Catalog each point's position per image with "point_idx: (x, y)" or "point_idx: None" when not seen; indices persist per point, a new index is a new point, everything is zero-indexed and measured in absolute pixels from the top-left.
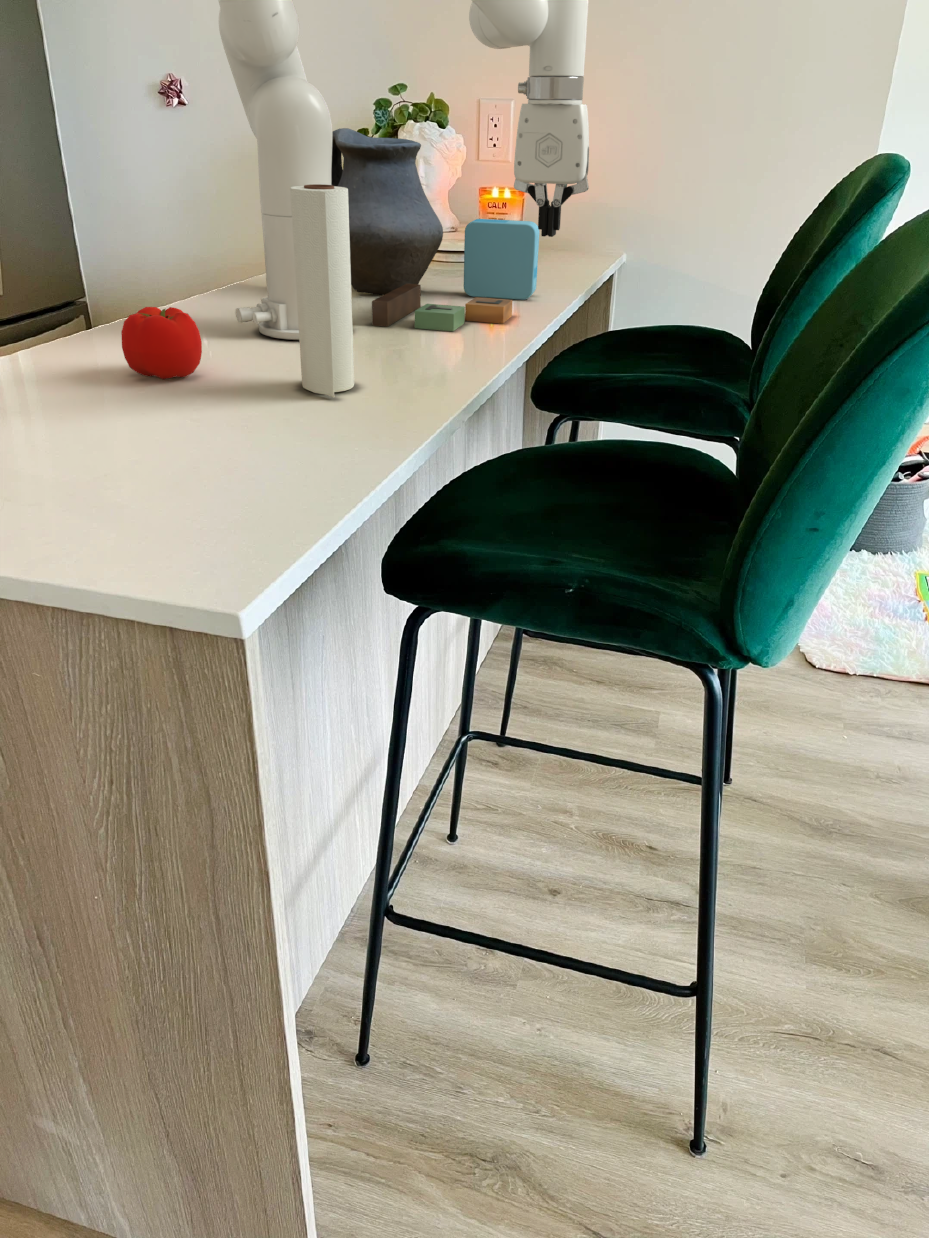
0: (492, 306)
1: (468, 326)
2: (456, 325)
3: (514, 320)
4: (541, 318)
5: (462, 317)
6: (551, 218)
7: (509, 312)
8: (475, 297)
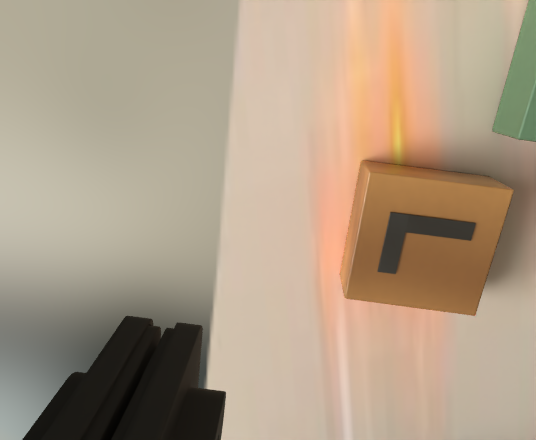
0: (411, 176)
1: (476, 95)
2: (528, 20)
3: (327, 225)
4: (249, 272)
5: (511, 104)
6: (85, 390)
7: (347, 248)
8: (475, 308)
